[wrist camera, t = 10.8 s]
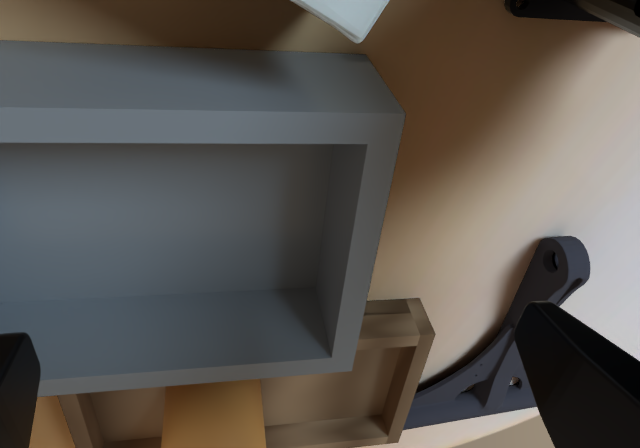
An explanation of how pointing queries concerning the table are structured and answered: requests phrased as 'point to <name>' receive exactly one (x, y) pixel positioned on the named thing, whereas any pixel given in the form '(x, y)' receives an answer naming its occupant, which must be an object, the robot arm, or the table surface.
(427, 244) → the table surface
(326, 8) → the skincare box
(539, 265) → the bracket
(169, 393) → the tan cylinder
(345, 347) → the grey storage bin
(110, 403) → the walnut tray
